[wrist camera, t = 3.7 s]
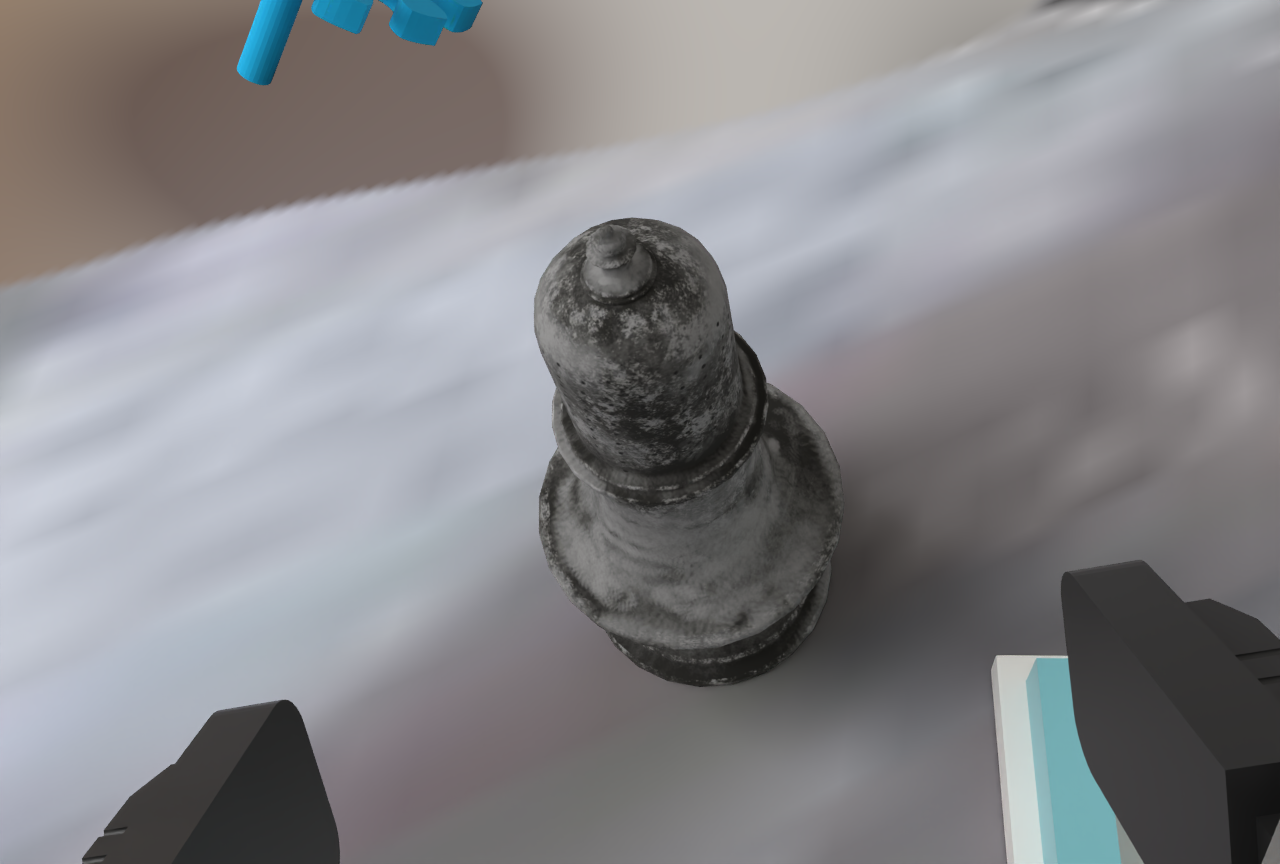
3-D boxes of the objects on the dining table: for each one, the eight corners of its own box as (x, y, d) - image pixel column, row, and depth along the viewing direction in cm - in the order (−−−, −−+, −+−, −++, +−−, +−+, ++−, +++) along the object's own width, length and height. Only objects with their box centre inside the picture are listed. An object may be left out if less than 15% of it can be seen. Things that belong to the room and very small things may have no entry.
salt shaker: (560, 693, 25) (341, 429, 14) (592, 444, 27) (428, 68, 17) (843, 708, 24) (833, 434, 13) (847, 448, 26) (842, 46, 16)
